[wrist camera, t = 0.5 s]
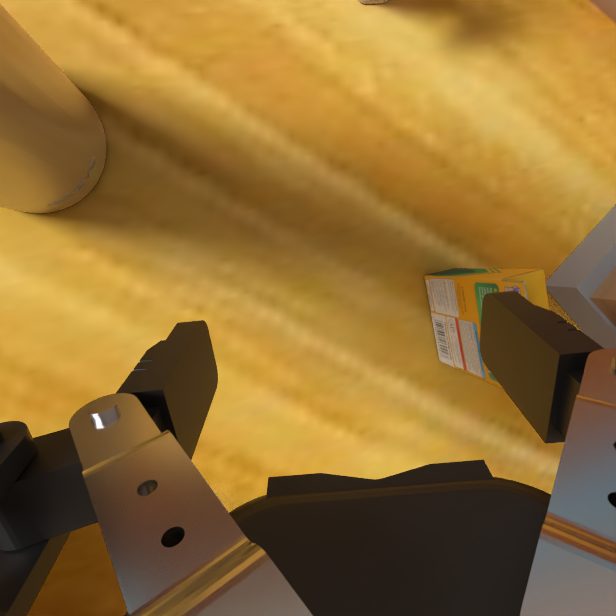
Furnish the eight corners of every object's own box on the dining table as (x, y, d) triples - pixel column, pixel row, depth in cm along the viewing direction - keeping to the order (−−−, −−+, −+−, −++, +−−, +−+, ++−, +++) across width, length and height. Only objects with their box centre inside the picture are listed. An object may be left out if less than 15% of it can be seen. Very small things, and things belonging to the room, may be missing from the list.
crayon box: (471, 353, 34) (589, 397, 22) (438, 362, 33) (541, 412, 22) (457, 266, 33) (572, 267, 21) (422, 275, 32) (521, 280, 21)
